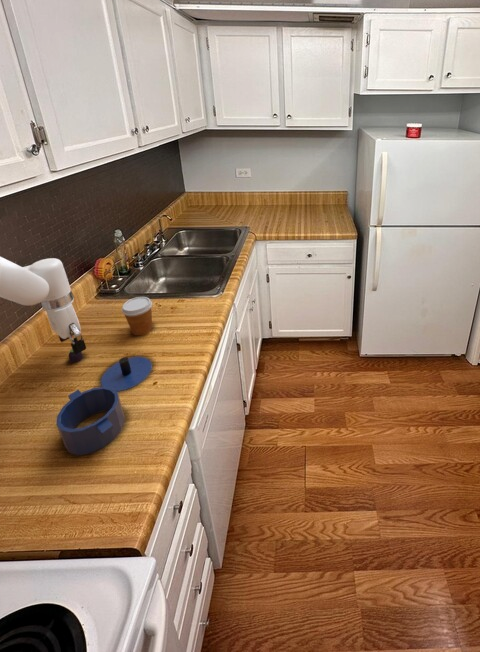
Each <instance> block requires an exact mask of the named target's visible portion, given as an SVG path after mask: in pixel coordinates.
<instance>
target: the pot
mask: <svg viewBox="0 0 480 652" xmlns="http://www.w3.org/2000/svg"><path fill="white" fill-rule="evenodd" d="M119 395H120V394H119V391H118V392H117V391H116V390H114V389H113V388H110V387H102V386H98V387H97V386H96V387H92V388H90V389H87V390H85V391H82V392H81V391H80V390H79V389H76V390H75V391H73V392H71V393H70V394H68V395H67V397H68V399H69V401H67V402H66V403H65V404H64V405H63V406H62V408H61V409H60V411H59V412H58V414H57V416H56V423H55V424H56V427H57V430H58V432H59V435H60V438H61V440H62V443H63V445H64V448H65V450H67V451H68V453H69V454H72V455H76V456H81V455H89V454H92V453H95V452H96V451H99V450H101V449H103V448H104V447H106V446H107V445H108V444H110V443H112V441H114V440H115V439H116V438H117V436H118V435H119V434H120V433H121V431H122V429H123V427H124V424H125V422H126V420H125V413H124V409H123V406H122V402H121V399H120V396H119ZM106 411H107V413H105V414H104V416H102V417H100V418H99V419H97V420H96V421H95V422H93V423H90V424H88V425H86V426H83V427H78V425H80V424H81V423H82V422H83V421H85V420H86V419H87V418H89V417H90V416H93V415H95V414H97V413H100V412H106ZM77 427H78V428H77Z"/></svg>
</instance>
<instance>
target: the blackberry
mask: <svg viewBox="0 0 480 652" xmlns="http://www.w3.org/2000/svg"><path fill="white" fill-rule="evenodd" d="M83 359H84V356H83V351H82V352H80V353H78V354H76V355H75V354H74V352H73V349H72V348H71V349H70V350H69V353H68V360H69V362H70V364H77V363H79V362H81V361H82V360H83Z"/></svg>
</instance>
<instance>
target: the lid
mask: <svg viewBox="0 0 480 652" xmlns="http://www.w3.org/2000/svg"><path fill="white" fill-rule="evenodd" d="M152 368H153V365H152V362H151V360H150V359H149V358H147V357H143V356H132V357H131V356H130V357H127V356H123V357H121V358H120V359H119V360H118V362H116V363H113V365H111V366H110V367H108V369H106V370H105V372H104V373H103V374H102V377H101V378H100V386H101V387H110V388H113V389H114V390H116V391H117V392H118V393H119V392H123V391H127V390H129V389H132V388H134V387H136V386H138V385H139V384H141V383H142V382H143V381H144V380H146V379H147V378H148V377H149V375H150V374H151V372H152Z"/></svg>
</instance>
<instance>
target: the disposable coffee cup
mask: <svg viewBox="0 0 480 652" xmlns="http://www.w3.org/2000/svg"><path fill="white" fill-rule="evenodd" d="M152 307H153V301H152V300H151V299H150V298H149V297H147V296H136V297H133V298H130V299H128V300H127V301H125V302H124V303H123V305H122V308H121V313H122V314H123V315H124V317H125V319H126V322H127V324H128V326H129V329H130V331H131V333H132V334H133V335H134V336H144V335H146V334H148V333H150V332H151V331H152V329H153V314H152V313H153V312H152Z"/></svg>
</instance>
